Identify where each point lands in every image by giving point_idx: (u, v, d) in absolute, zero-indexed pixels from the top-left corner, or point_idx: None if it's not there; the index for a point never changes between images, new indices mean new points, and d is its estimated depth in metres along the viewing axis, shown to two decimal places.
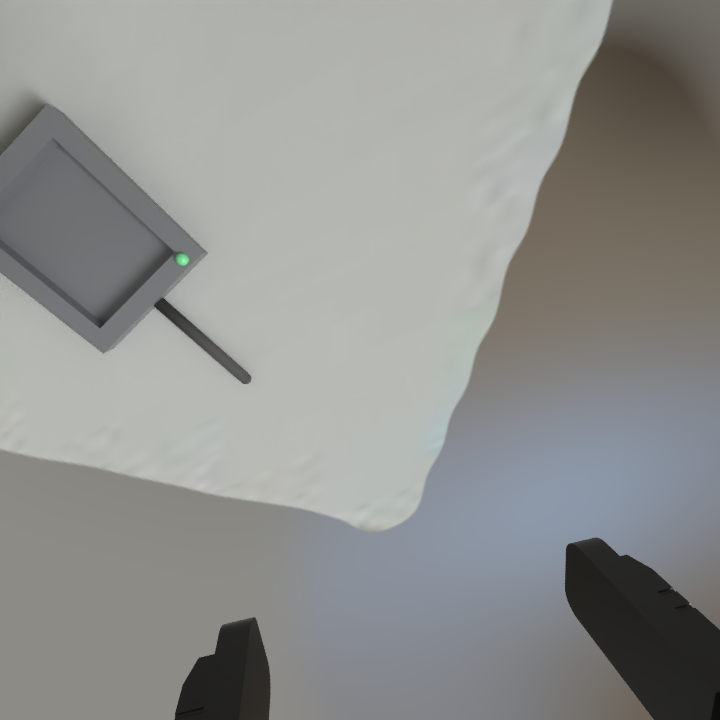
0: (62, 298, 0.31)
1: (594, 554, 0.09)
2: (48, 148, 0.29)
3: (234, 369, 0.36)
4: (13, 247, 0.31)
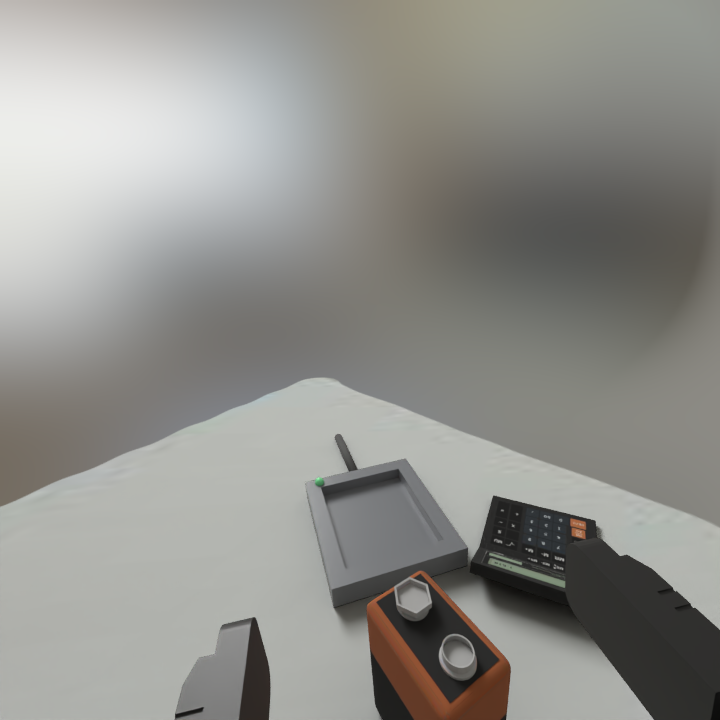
0: (410, 487, 0.41)
1: (594, 554, 0.09)
2: None
3: (339, 440, 0.53)
4: (430, 531, 0.37)
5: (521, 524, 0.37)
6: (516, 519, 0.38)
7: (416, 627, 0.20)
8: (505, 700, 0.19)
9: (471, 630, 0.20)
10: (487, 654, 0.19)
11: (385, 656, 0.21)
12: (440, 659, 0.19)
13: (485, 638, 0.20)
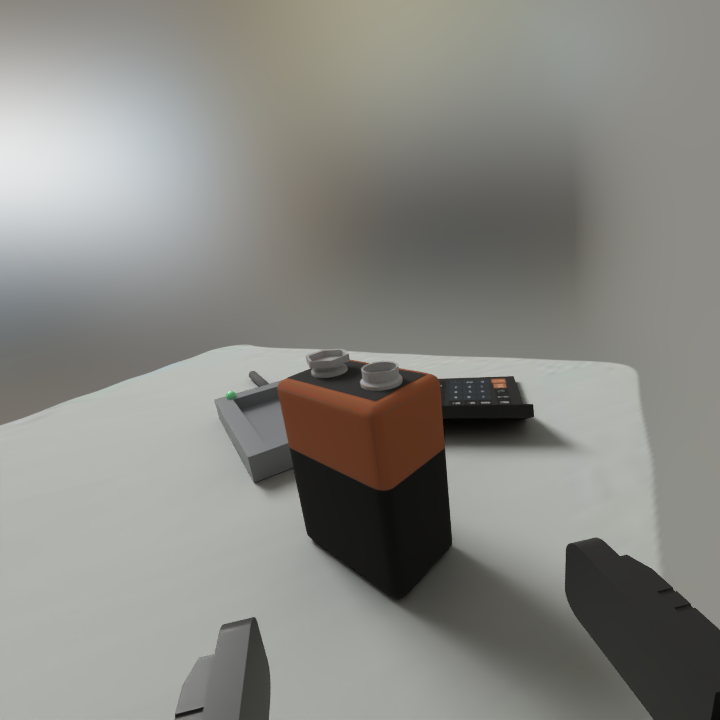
0: None
1: (594, 554, 0.09)
2: None
3: (253, 374, 0.48)
4: None
5: (446, 390, 0.37)
6: (441, 388, 0.37)
7: (333, 379, 0.18)
8: (440, 424, 0.17)
9: None
10: (413, 374, 0.17)
11: (303, 426, 0.18)
12: (361, 383, 0.16)
13: (410, 370, 0.18)
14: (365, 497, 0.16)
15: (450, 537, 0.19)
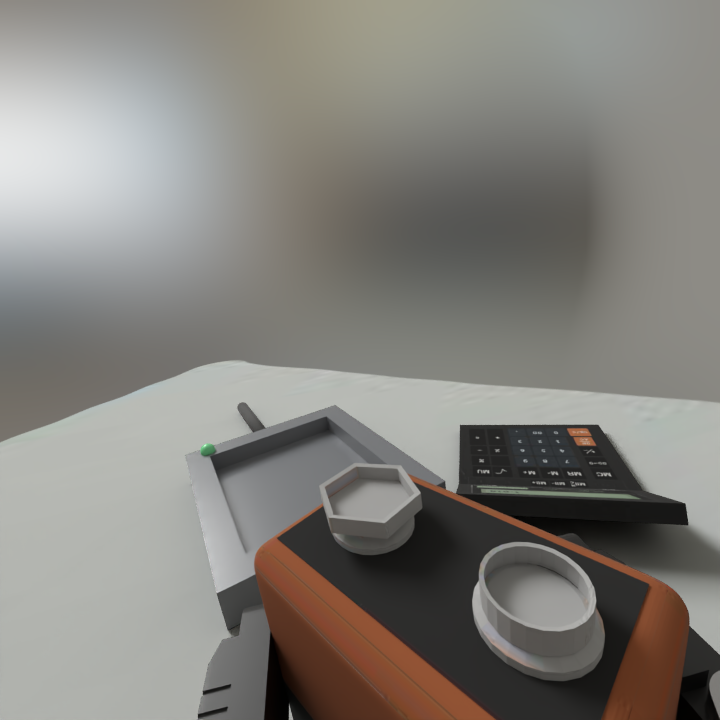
0: (346, 432, 0.28)
1: None
2: None
3: (243, 407, 0.38)
4: None
5: (507, 447, 0.26)
6: (499, 443, 0.27)
7: (388, 565, 0.07)
8: None
9: (536, 537, 0.07)
10: (608, 580, 0.06)
11: (314, 679, 0.07)
12: (484, 628, 0.06)
13: (579, 546, 0.07)
14: None
15: None
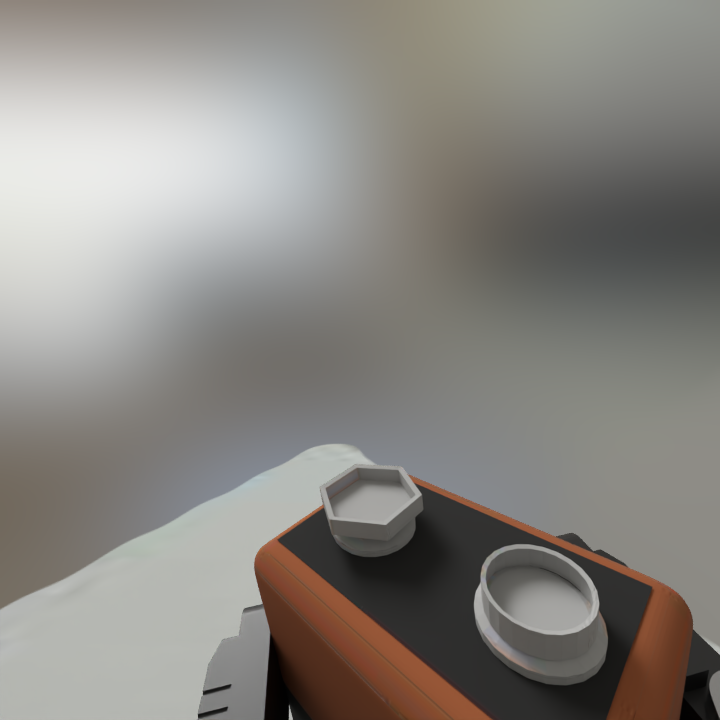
0: None
1: None
2: None
3: None
4: None
5: None
6: None
7: (389, 567, 0.07)
8: None
9: (538, 539, 0.07)
10: (611, 583, 0.06)
11: (314, 682, 0.07)
12: (486, 632, 0.06)
13: (581, 548, 0.07)
14: None
15: None
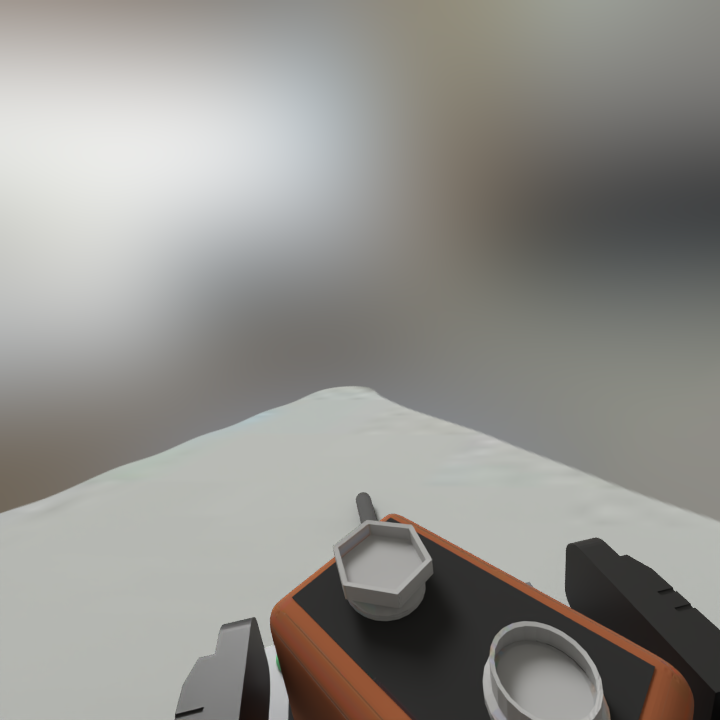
0: None
1: (594, 554, 0.09)
2: None
3: (364, 507, 0.25)
4: None
5: None
6: None
7: (401, 633, 0.07)
8: None
9: (544, 607, 0.08)
10: (615, 660, 0.06)
11: None
12: (494, 714, 0.06)
13: (586, 618, 0.07)
14: None
15: None
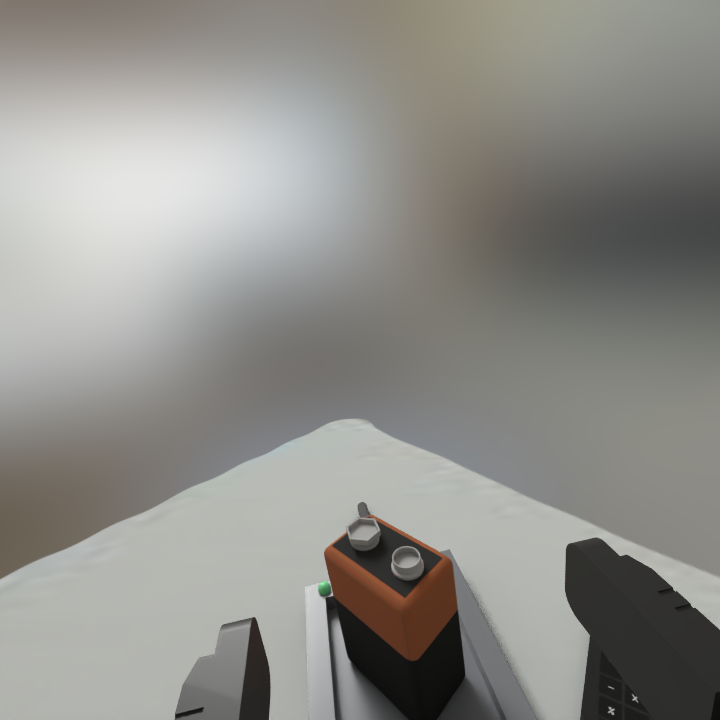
0: None
1: (594, 554, 0.09)
2: None
3: (362, 512, 0.40)
4: (489, 699, 0.23)
5: None
6: None
7: (369, 553, 0.23)
8: (453, 595, 0.22)
9: (417, 544, 0.23)
10: (431, 556, 0.22)
11: (346, 590, 0.23)
12: (392, 569, 0.21)
13: (429, 547, 0.22)
14: (397, 659, 0.21)
15: (464, 671, 0.23)
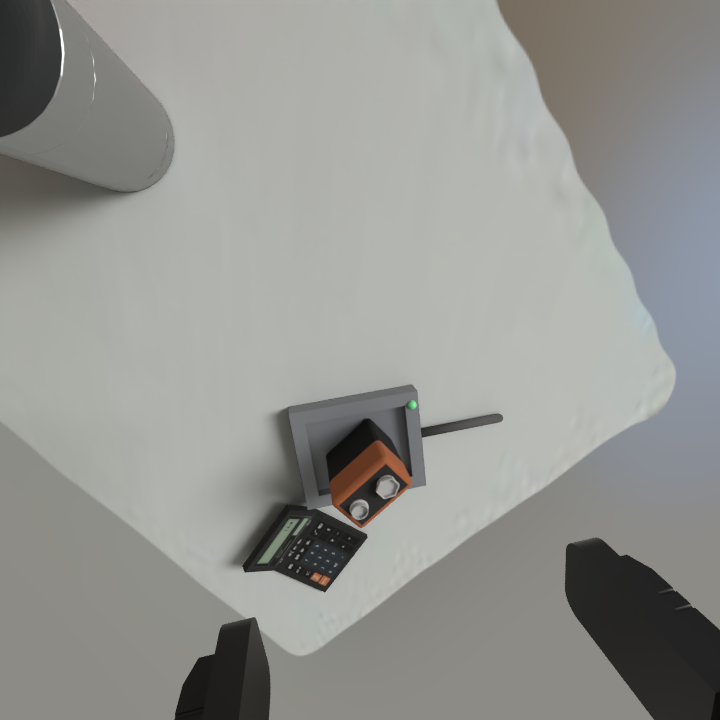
0: None
1: (594, 554, 0.09)
2: (306, 430, 0.42)
3: (489, 421, 0.46)
4: None
5: (332, 546, 0.48)
6: (338, 544, 0.48)
7: (373, 486, 0.36)
8: None
9: (375, 512, 0.36)
10: (363, 520, 0.36)
11: (364, 460, 0.37)
12: (357, 501, 0.36)
13: (372, 518, 0.37)
14: (335, 472, 0.39)
15: None
